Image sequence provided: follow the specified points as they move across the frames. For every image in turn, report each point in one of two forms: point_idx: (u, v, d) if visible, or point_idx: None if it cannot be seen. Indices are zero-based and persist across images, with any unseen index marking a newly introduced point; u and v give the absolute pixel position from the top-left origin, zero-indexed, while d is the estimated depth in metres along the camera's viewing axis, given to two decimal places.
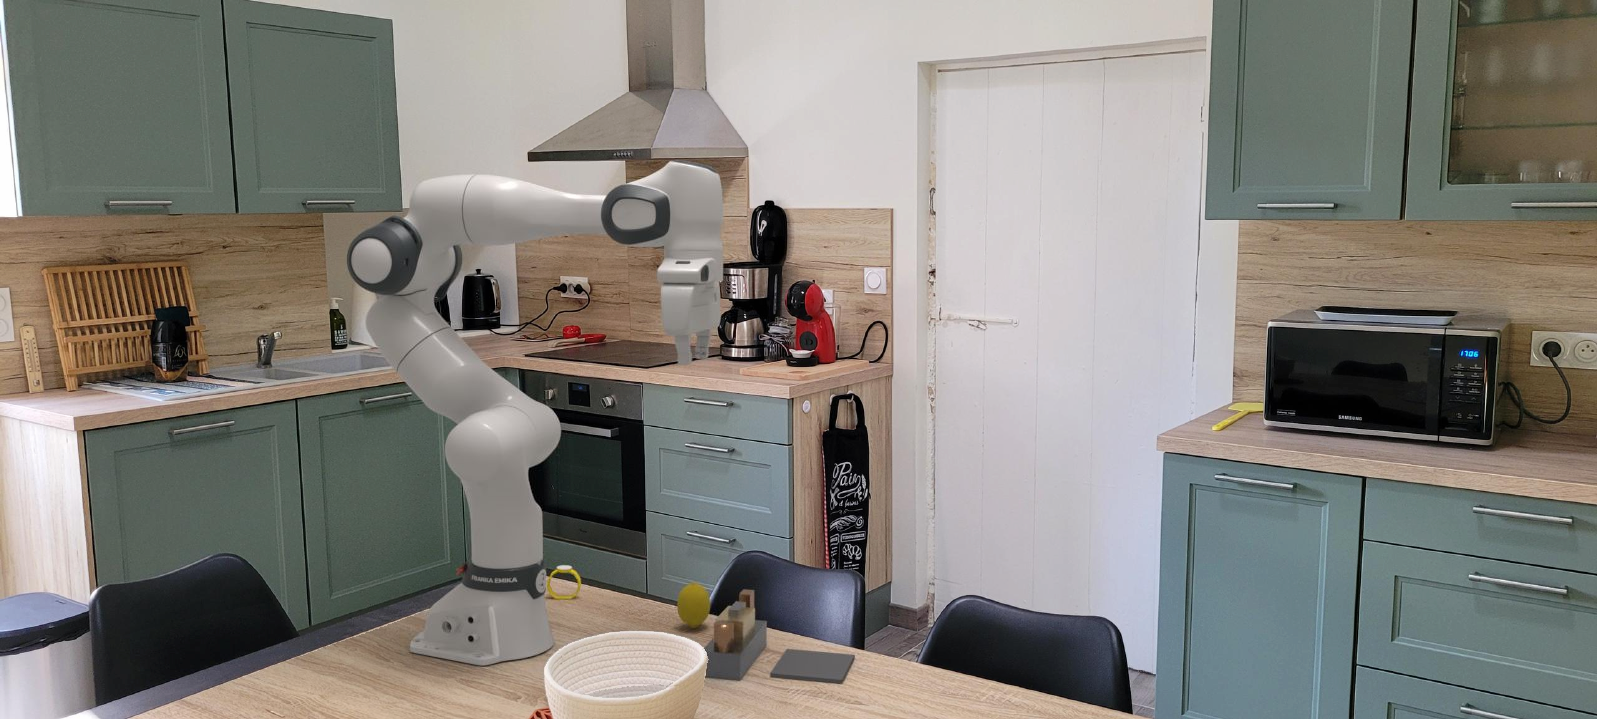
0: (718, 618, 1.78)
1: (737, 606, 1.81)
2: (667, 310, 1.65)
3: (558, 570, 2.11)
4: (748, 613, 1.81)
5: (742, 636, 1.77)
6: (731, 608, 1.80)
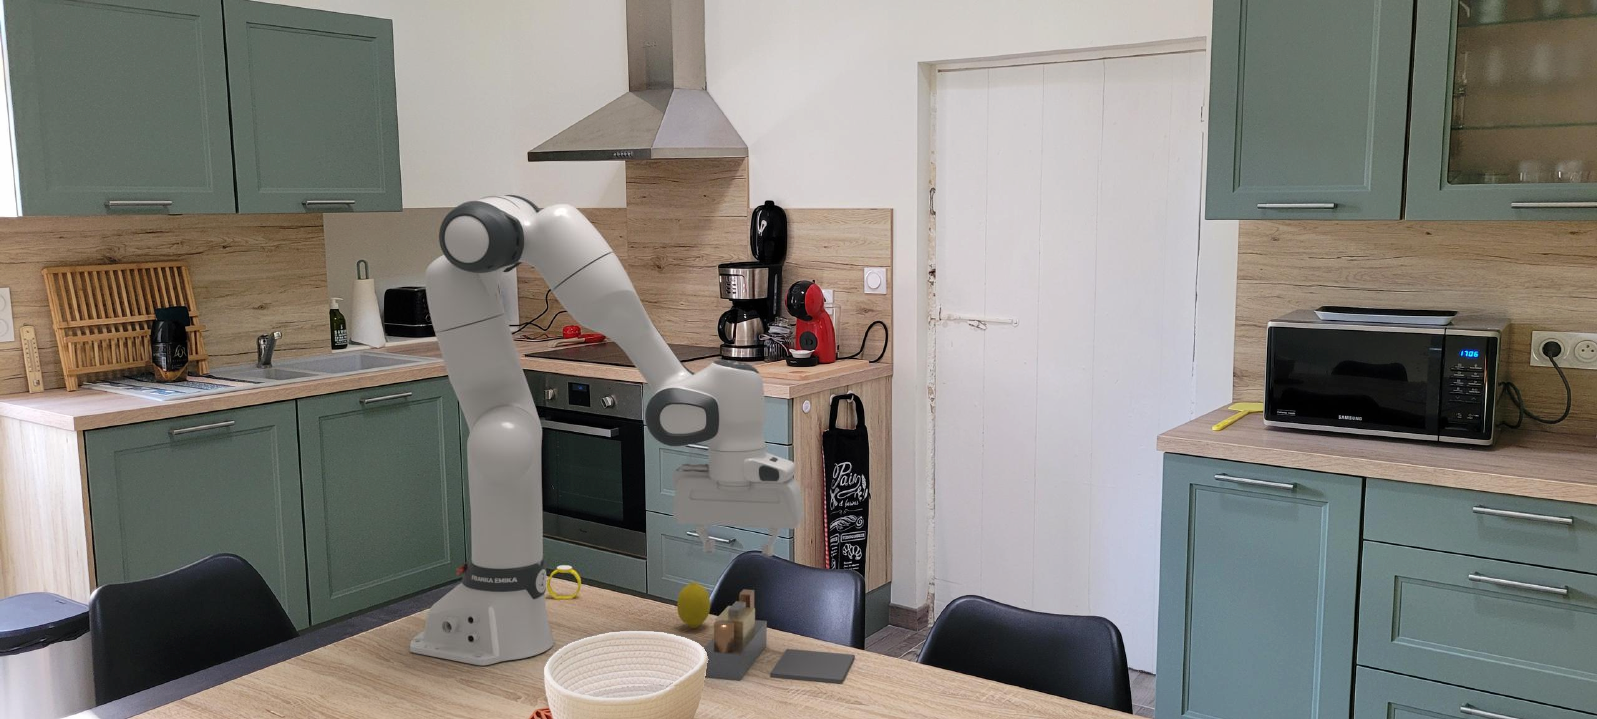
0: (718, 618, 1.78)
1: (737, 606, 1.81)
2: (798, 505, 1.76)
3: (558, 570, 2.11)
4: (748, 613, 1.81)
5: (742, 636, 1.77)
6: (731, 608, 1.80)
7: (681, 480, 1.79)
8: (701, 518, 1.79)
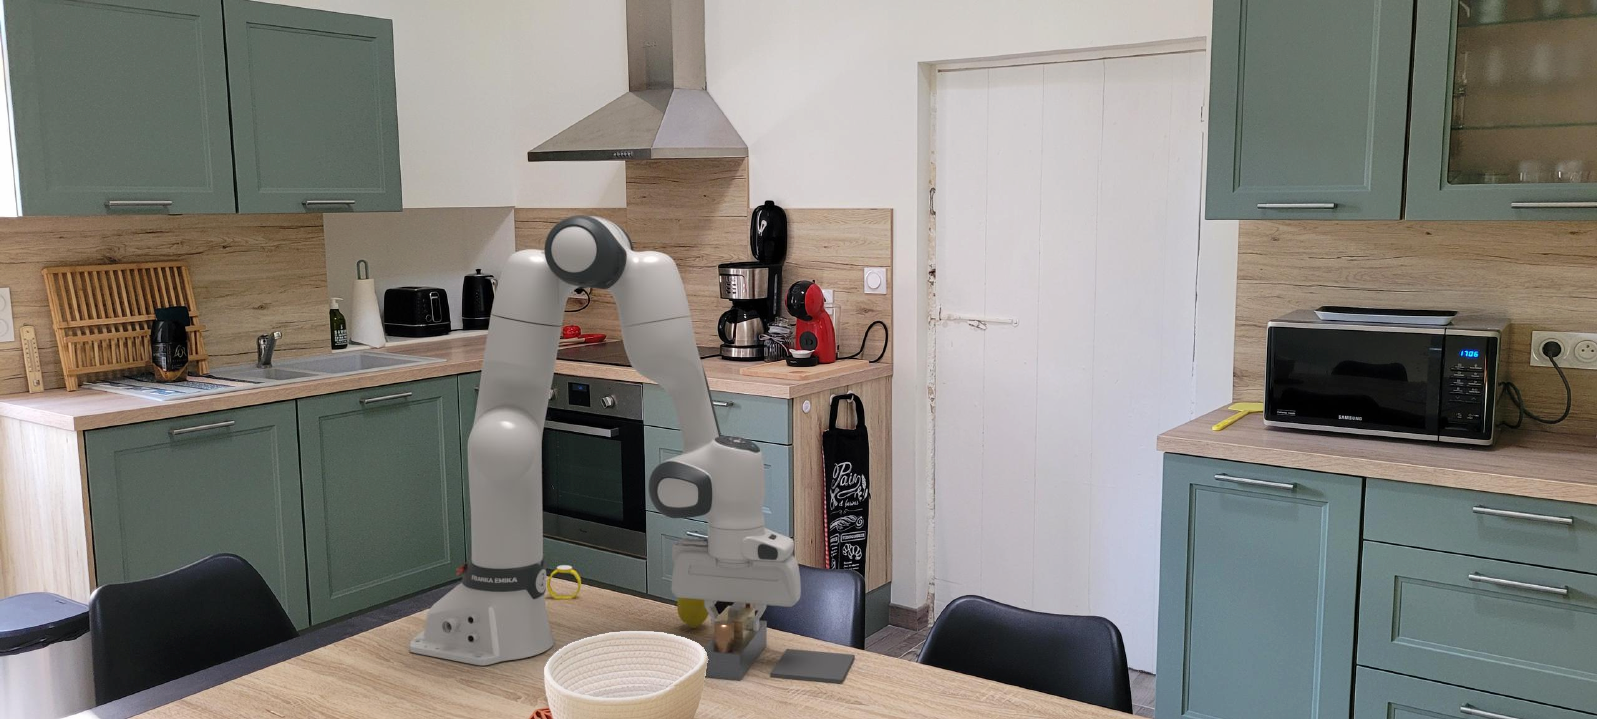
0: (718, 618, 1.78)
1: (737, 606, 1.81)
2: (796, 583, 1.77)
3: (558, 570, 2.11)
4: (748, 613, 1.81)
5: (742, 636, 1.77)
6: (731, 608, 1.80)
7: (680, 555, 1.80)
8: (699, 593, 1.80)
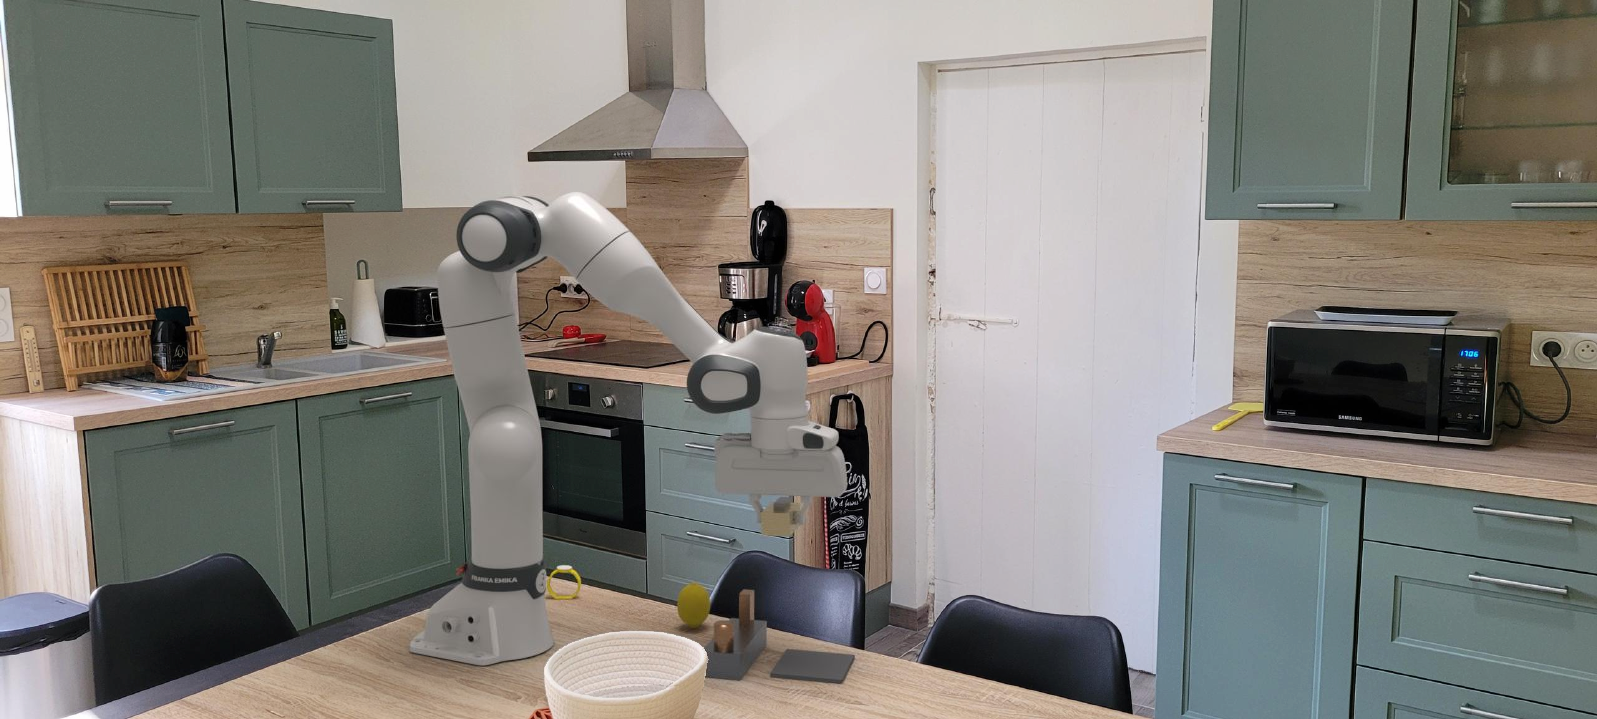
0: (763, 511, 1.75)
1: (782, 500, 1.78)
2: (842, 473, 1.74)
3: (558, 570, 2.11)
4: (793, 507, 1.78)
5: (789, 528, 1.74)
6: (776, 502, 1.77)
7: (723, 449, 1.77)
8: (744, 487, 1.76)
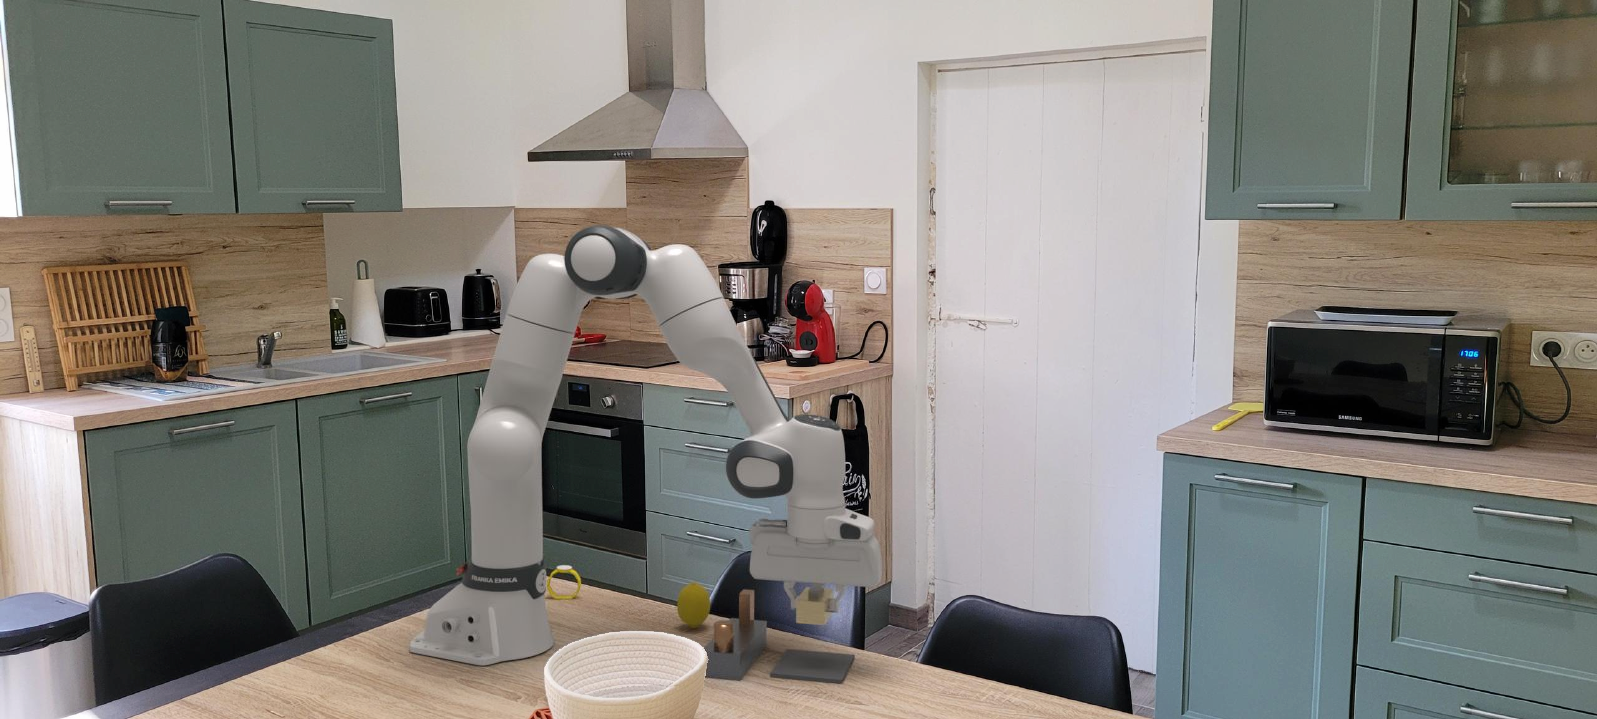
0: (799, 599, 1.75)
1: (816, 587, 1.78)
2: (878, 563, 1.74)
3: (558, 570, 2.11)
4: (828, 594, 1.78)
5: (824, 617, 1.74)
6: (811, 589, 1.77)
7: (759, 535, 1.77)
8: (779, 574, 1.77)
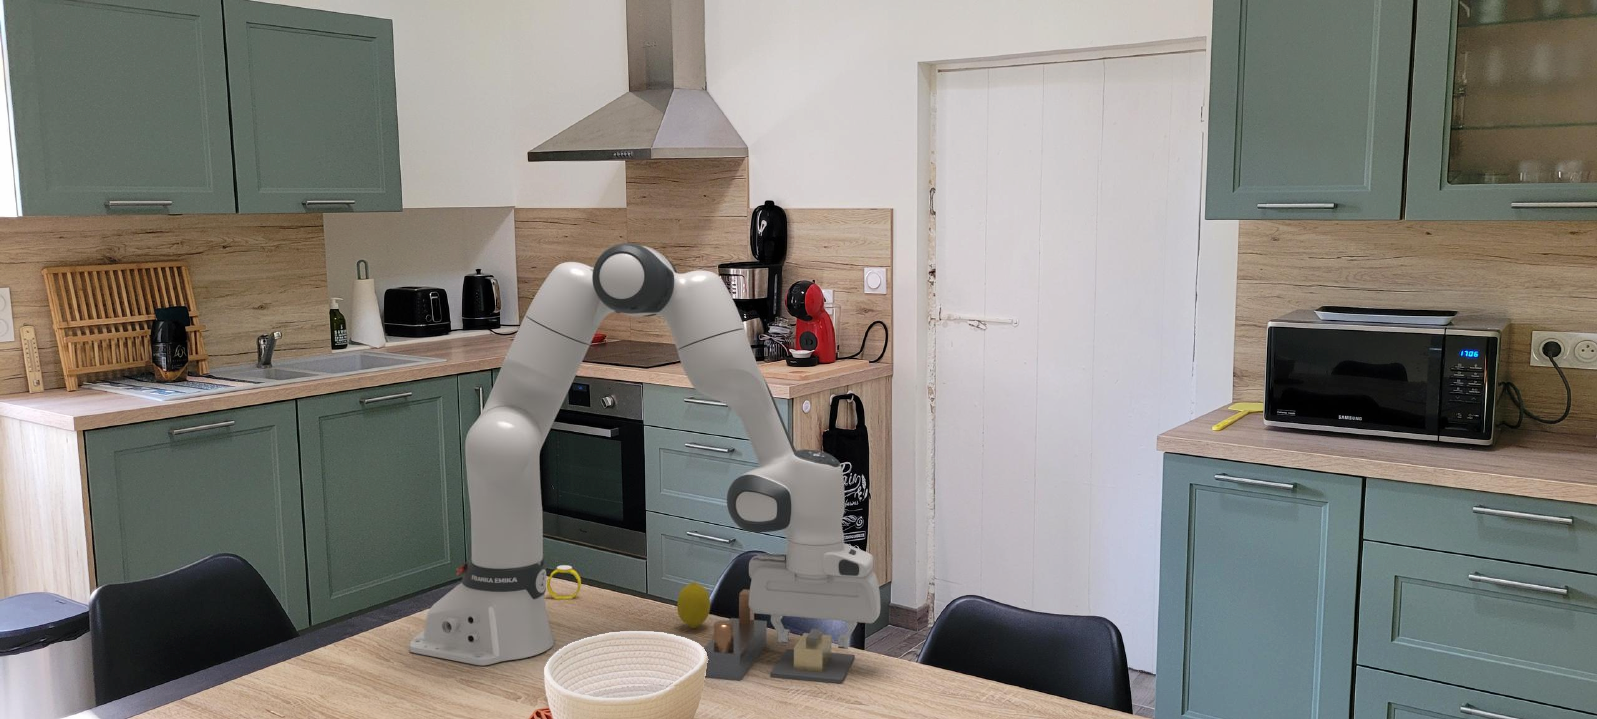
0: (796, 646, 1.76)
1: (814, 634, 1.79)
2: (876, 600, 1.74)
3: (558, 570, 2.11)
4: (825, 641, 1.79)
5: (821, 665, 1.75)
6: (809, 636, 1.78)
7: (758, 570, 1.78)
8: (777, 609, 1.77)
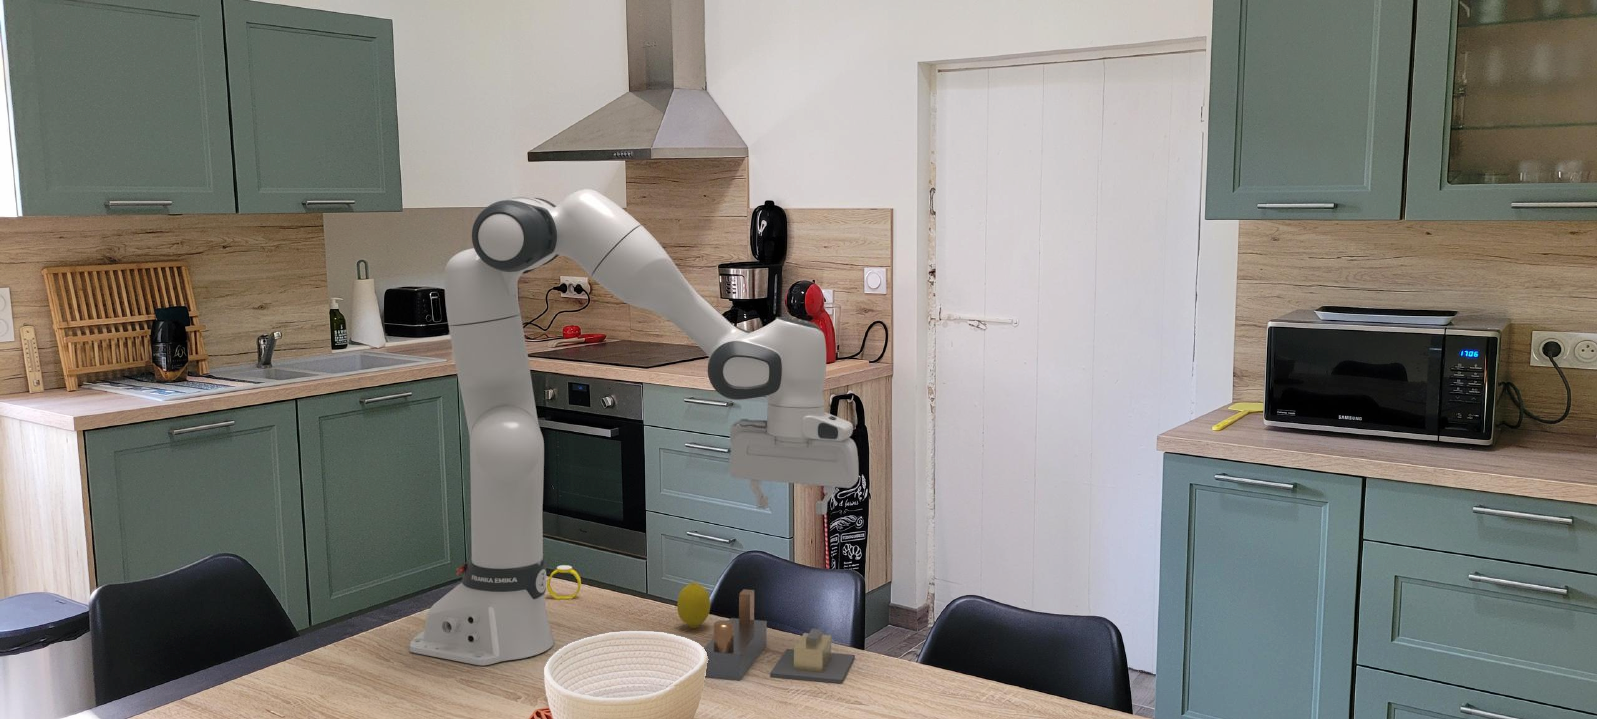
0: (796, 646, 1.76)
1: (814, 634, 1.79)
2: (854, 465, 1.76)
3: (558, 570, 2.11)
4: (825, 641, 1.79)
5: (821, 665, 1.75)
6: (809, 636, 1.78)
7: (739, 435, 1.80)
8: (757, 473, 1.79)
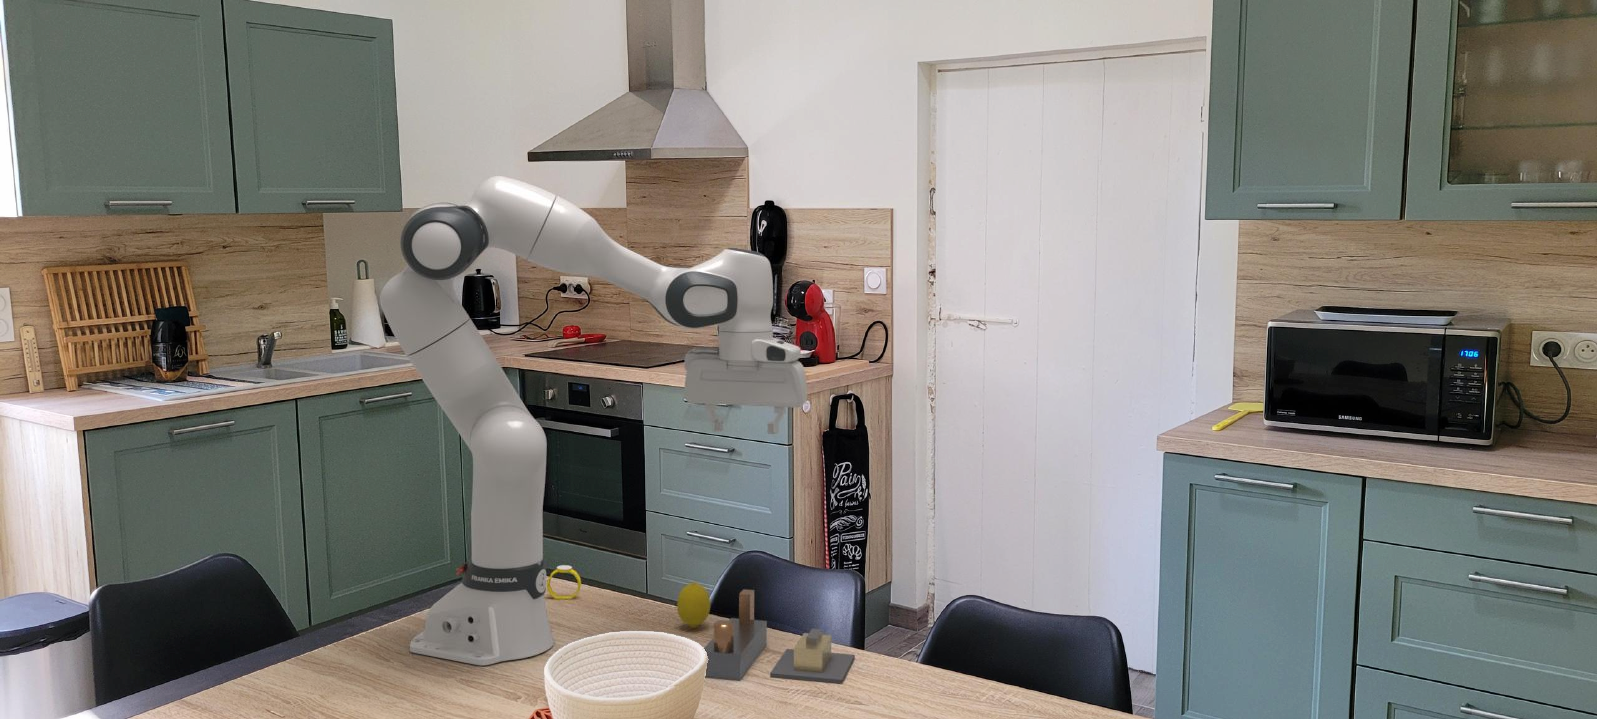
0: (796, 646, 1.76)
1: (814, 634, 1.79)
2: (802, 385, 1.86)
3: (558, 570, 2.11)
4: (825, 641, 1.79)
5: (821, 665, 1.75)
6: (809, 636, 1.78)
7: (692, 361, 1.89)
8: (711, 397, 1.89)
